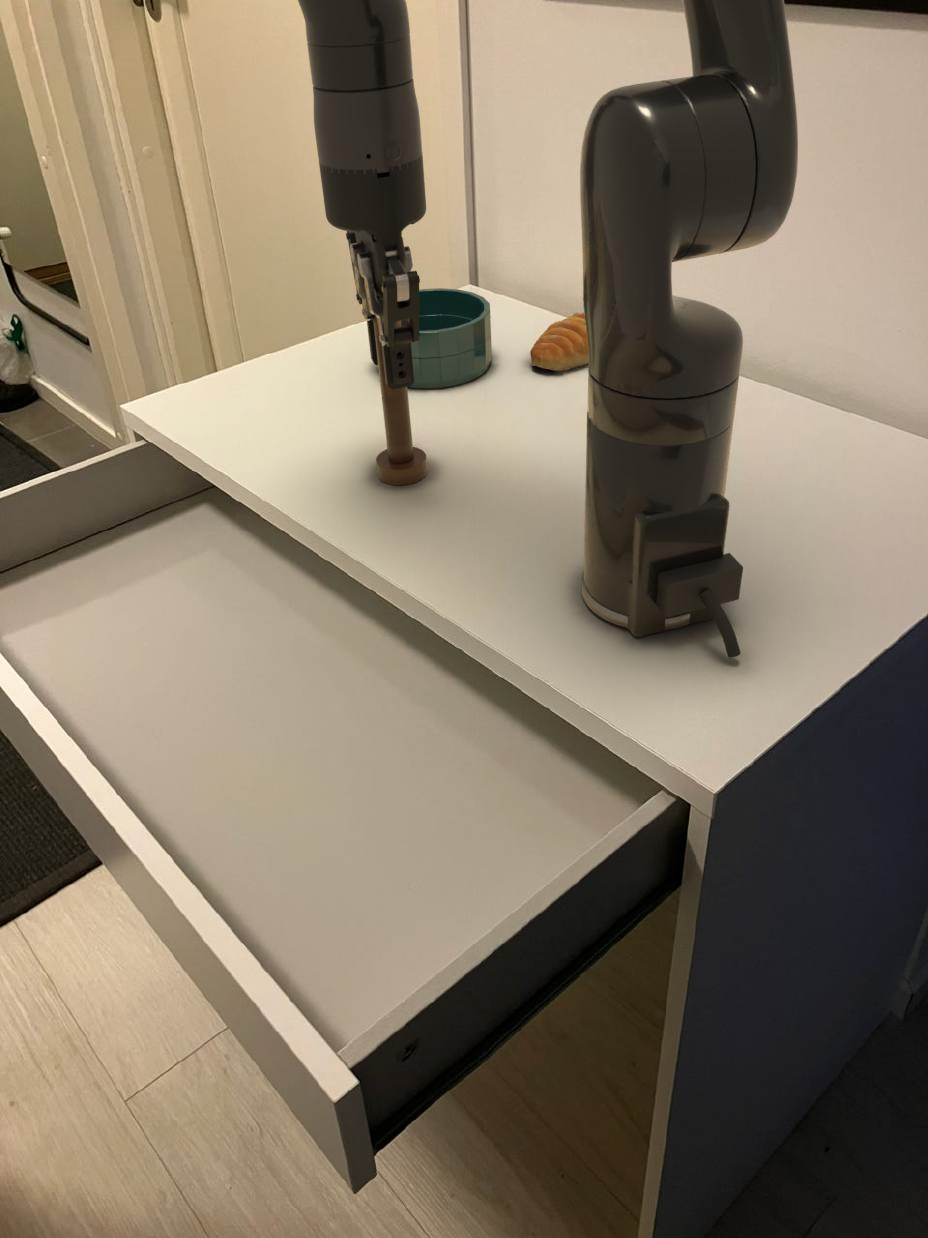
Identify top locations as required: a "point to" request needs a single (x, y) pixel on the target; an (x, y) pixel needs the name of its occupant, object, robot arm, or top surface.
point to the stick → (397, 432)
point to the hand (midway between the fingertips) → (392, 373)
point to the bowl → (451, 338)
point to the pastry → (562, 345)
